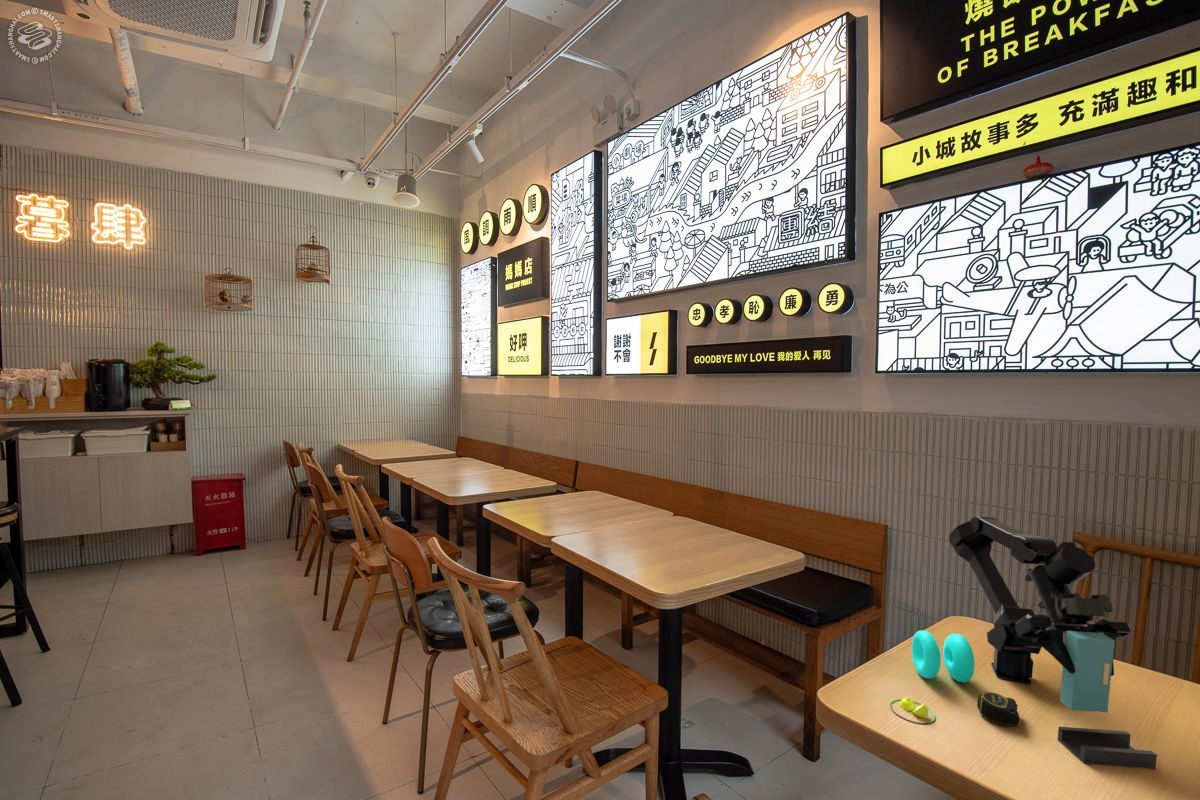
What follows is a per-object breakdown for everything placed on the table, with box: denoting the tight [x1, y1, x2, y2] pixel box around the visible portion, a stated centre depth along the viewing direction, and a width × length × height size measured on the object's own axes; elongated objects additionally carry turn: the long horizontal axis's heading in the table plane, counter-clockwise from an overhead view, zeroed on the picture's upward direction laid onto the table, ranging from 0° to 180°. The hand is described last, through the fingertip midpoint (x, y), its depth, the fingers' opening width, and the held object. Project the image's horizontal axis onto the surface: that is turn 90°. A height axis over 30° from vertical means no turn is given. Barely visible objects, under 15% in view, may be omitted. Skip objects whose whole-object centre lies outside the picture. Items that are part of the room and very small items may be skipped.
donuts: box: [911, 630, 975, 683], centre depth 130 cm, size 10×10×10 cm
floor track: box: [1057, 726, 1158, 770], centre depth 105 cm, size 6×12×3 cm, turn 86°
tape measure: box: [976, 691, 1021, 727], centre depth 115 cm, size 7×7×4 cm
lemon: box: [890, 696, 936, 724], centre depth 116 cm, size 8×8×3 cm
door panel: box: [1059, 631, 1115, 713], centre depth 110 cm, size 3×6×14 cm, turn 86°
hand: (1092, 674), depth 109 cm, fingers closed on door panel, 6 cm apart
